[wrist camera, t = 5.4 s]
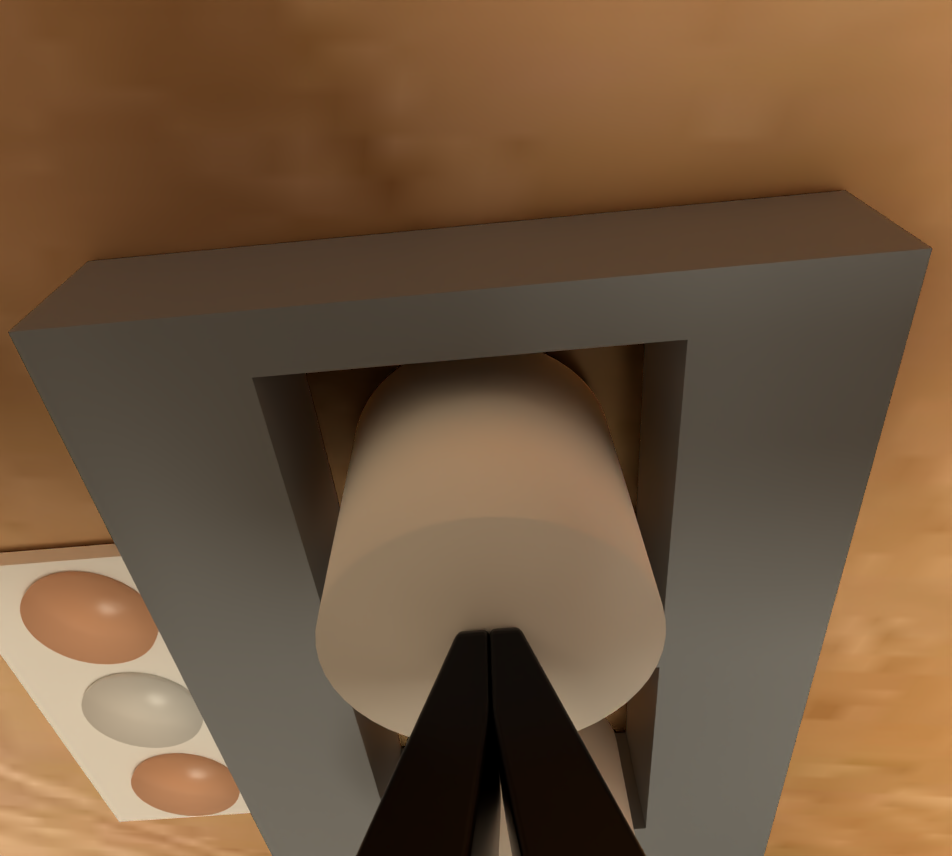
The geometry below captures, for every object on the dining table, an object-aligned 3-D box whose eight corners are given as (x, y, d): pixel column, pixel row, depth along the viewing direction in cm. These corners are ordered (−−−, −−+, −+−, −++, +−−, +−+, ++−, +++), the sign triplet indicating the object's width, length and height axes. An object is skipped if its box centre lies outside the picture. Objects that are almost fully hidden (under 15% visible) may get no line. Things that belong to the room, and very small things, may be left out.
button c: (607, 538, 14) (657, 737, 11) (377, 556, 14) (351, 758, 11) (611, 329, 12) (678, 501, 8) (331, 354, 12) (277, 532, 8)
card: (296, 796, 21) (292, 815, 20) (124, 807, 21) (116, 827, 20) (186, 538, 15) (177, 556, 15) (-48, 556, 15) (-64, 576, 15)
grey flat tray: (711, 869, 24) (735, 958, 22) (346, 892, 24) (336, 982, 22) (845, 189, 11) (932, 248, 9) (88, 261, 12) (7, 331, 10)
